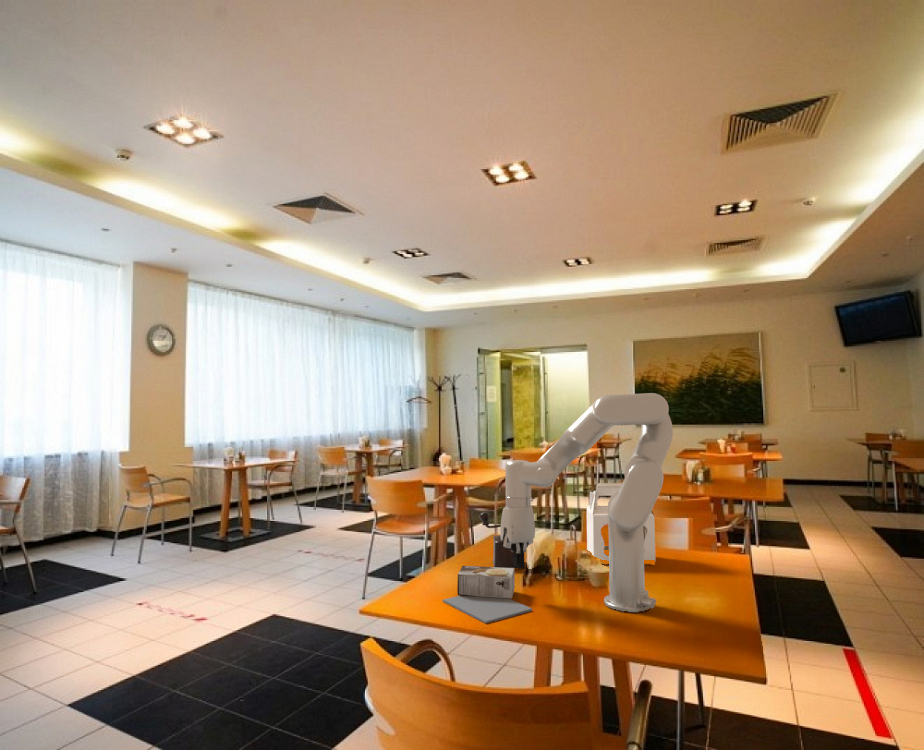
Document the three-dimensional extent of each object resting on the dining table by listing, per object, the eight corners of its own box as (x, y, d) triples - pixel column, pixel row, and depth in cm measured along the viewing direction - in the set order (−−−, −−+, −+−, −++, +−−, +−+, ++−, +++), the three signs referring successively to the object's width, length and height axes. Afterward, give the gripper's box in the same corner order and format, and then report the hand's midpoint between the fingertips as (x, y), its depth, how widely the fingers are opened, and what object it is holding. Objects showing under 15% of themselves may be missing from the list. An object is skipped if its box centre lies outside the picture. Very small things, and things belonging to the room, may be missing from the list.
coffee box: (514, 589, 165) (462, 586, 168) (514, 567, 166) (462, 564, 169) (512, 599, 156) (456, 595, 159) (511, 576, 157) (457, 573, 160)
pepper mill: (521, 560, 200) (520, 510, 201) (525, 569, 189) (524, 516, 190) (478, 560, 200) (478, 510, 201) (480, 569, 188) (480, 516, 190)
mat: (532, 610, 149) (532, 608, 149) (485, 623, 140) (485, 621, 140) (487, 591, 165) (487, 589, 165) (442, 601, 156) (442, 599, 156)
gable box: (593, 564, 195) (591, 485, 197) (586, 555, 208) (585, 480, 210) (656, 565, 194) (654, 485, 196) (645, 555, 207) (644, 481, 209)
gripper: (528, 498, 169) (529, 559, 167) (490, 503, 160) (490, 567, 159) (545, 502, 163) (546, 565, 161) (507, 506, 154) (507, 573, 153)
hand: (518, 566), depth 160 cm, fingers closed
